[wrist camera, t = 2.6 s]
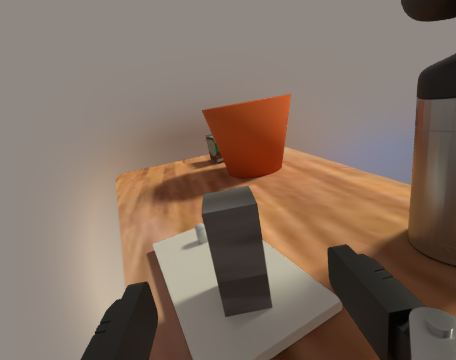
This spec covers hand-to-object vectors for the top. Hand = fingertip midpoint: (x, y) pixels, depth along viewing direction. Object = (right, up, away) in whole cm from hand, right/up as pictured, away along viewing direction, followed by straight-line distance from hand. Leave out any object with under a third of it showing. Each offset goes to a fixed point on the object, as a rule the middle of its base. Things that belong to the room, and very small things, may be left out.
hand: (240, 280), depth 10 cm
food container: (-3, +12, +83) cm, 84 cm away
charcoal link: (+1, -8, +14) cm, 16 cm away
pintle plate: (-1, -7, +20) cm, 21 cm away
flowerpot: (+8, +8, +63) cm, 64 cm away
